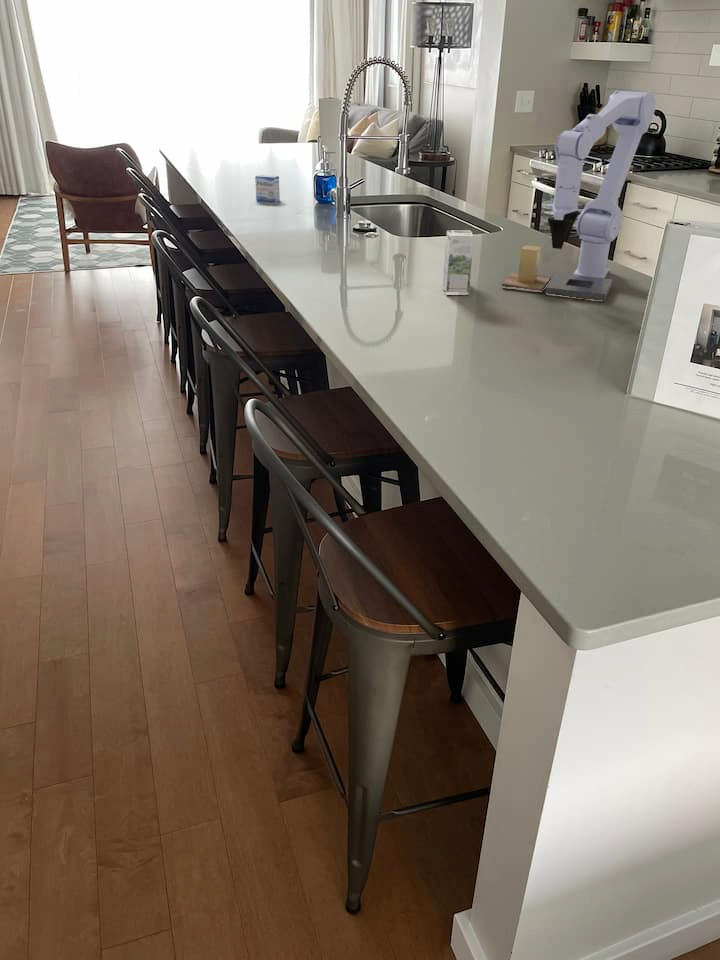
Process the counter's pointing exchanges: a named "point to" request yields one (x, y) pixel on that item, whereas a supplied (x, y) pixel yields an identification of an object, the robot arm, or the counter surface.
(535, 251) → the brass peg
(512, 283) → the walnut board
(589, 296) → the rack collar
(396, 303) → the counter surface
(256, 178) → the medicine box
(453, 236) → the syrup box
